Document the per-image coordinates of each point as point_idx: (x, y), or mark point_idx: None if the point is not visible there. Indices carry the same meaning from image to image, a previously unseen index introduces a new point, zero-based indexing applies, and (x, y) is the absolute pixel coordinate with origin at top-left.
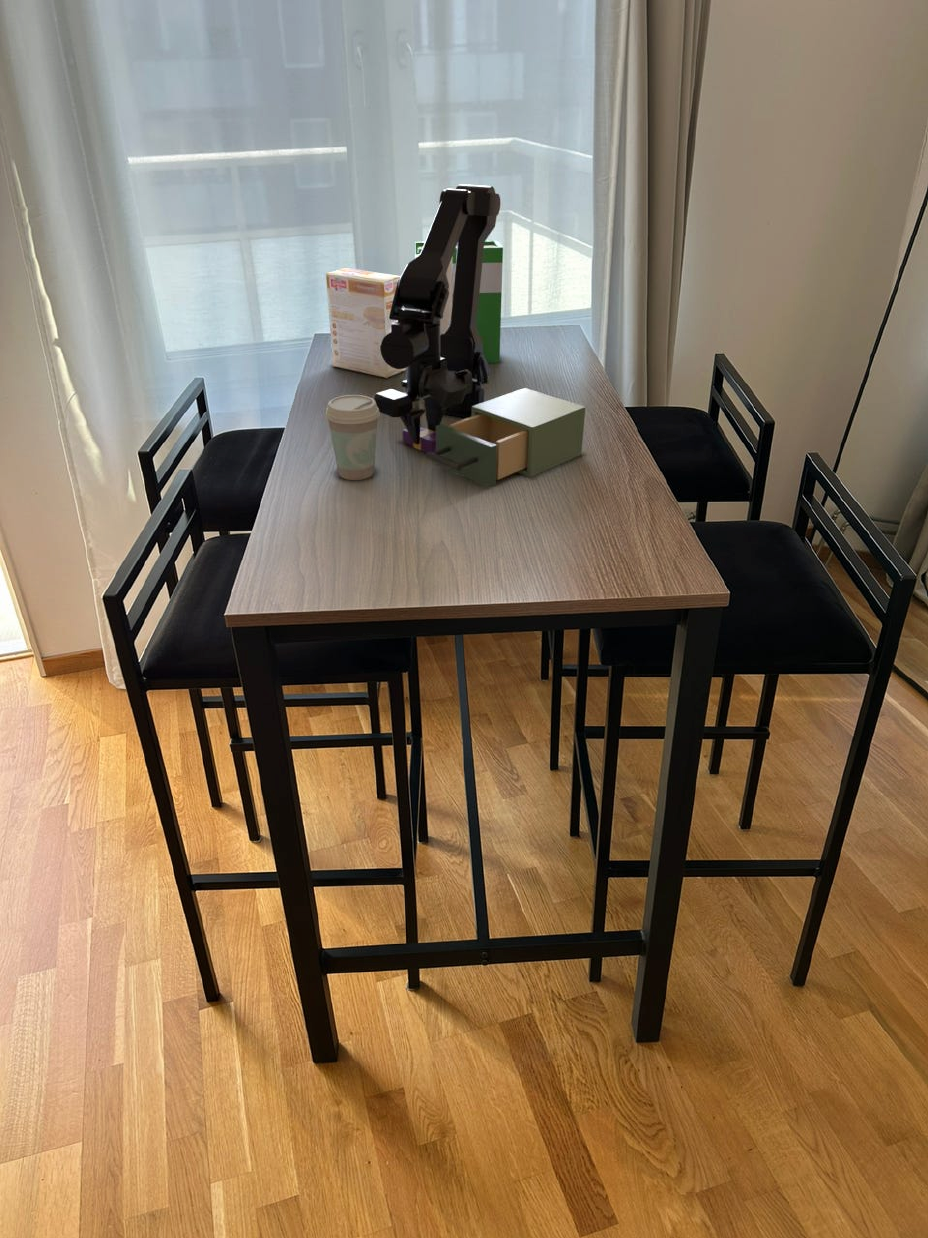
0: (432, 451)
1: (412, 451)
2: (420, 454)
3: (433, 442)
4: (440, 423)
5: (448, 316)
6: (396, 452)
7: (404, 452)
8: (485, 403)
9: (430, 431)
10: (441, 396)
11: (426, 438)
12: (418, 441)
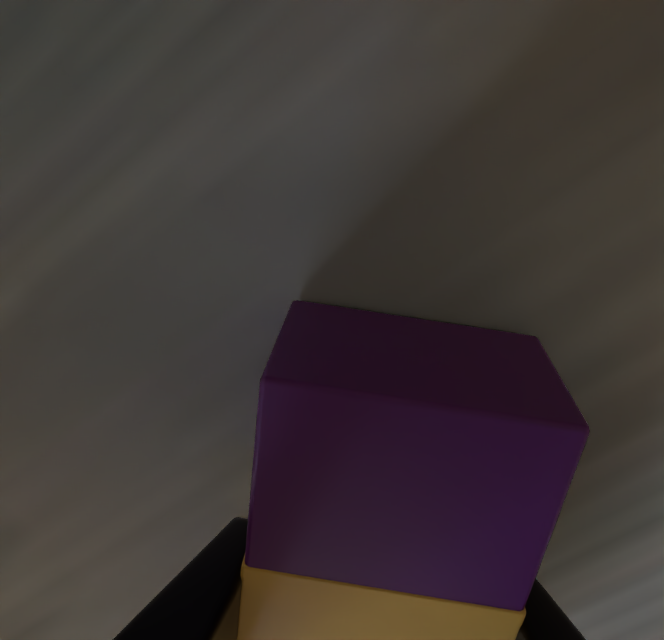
0: (544, 350)
1: (558, 531)
2: (588, 436)
3: (557, 409)
4: (115, 638)
5: None
6: (659, 619)
7: (622, 571)
8: None
9: (284, 615)
10: None
11: (519, 543)
12: None
